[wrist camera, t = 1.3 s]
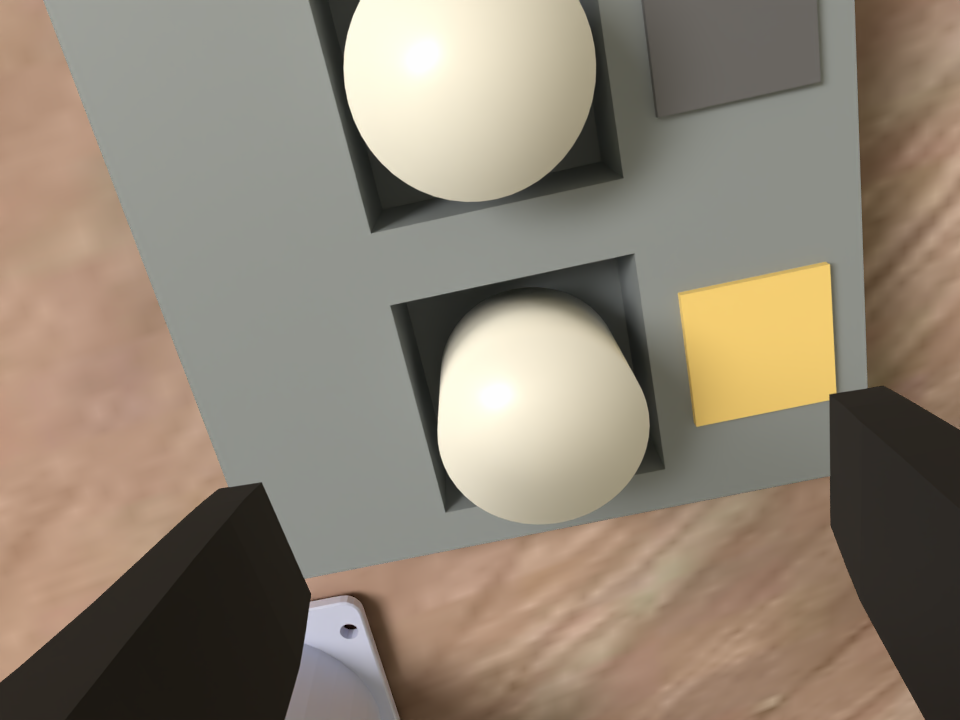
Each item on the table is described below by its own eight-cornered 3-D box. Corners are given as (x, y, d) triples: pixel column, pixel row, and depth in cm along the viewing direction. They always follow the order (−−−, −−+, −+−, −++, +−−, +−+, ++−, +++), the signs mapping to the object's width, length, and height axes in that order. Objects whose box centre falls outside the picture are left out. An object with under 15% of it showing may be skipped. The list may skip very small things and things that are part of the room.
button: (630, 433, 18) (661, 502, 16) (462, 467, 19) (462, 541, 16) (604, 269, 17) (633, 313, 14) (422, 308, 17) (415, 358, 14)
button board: (806, 403, 21) (874, 472, 17) (295, 505, 22) (264, 592, 18) (738, -627, 14) (832, -853, 10) (-28, -420, 14) (-179, -567, 11)
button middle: (586, 151, 16) (613, 173, 13) (393, 194, 16) (379, 224, 13) (550, -68, 15) (573, -95, 12) (340, -18, 15) (312, -33, 12)
